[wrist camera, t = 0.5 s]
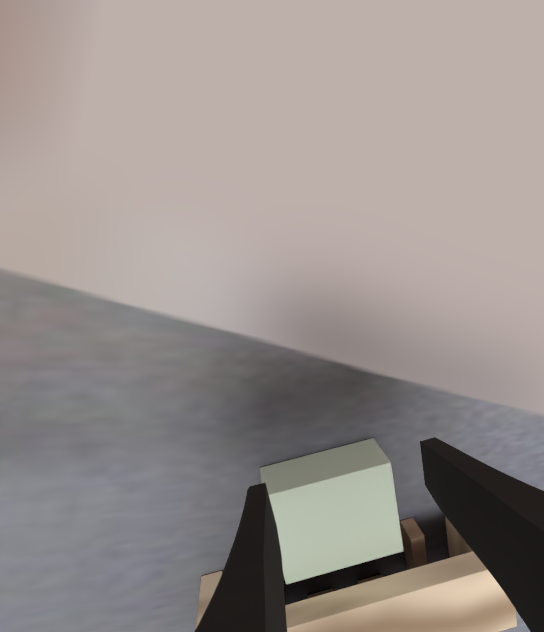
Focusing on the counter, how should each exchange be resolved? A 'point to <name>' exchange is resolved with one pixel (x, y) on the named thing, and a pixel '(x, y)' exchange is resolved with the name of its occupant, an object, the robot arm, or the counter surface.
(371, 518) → the pale green slab
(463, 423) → the counter surface
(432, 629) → the overhang shelf
